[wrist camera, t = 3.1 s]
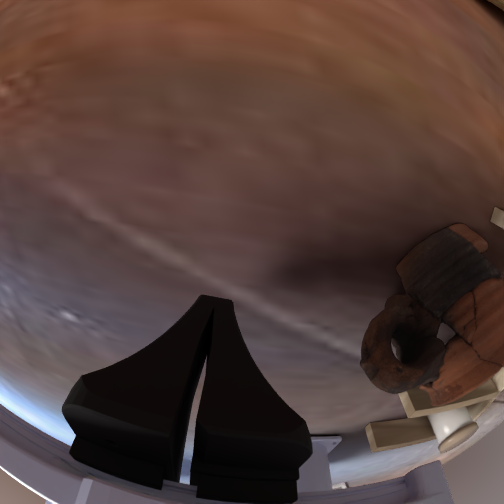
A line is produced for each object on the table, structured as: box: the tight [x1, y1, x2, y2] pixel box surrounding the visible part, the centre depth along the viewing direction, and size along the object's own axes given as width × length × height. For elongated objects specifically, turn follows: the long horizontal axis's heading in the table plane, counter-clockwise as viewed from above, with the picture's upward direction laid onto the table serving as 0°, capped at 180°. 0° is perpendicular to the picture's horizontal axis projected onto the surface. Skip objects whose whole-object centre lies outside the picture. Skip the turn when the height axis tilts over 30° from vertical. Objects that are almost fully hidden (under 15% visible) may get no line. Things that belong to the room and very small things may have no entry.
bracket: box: [365, 207, 504, 453], centre depth 15 cm, size 22×14×3 cm, turn 169°
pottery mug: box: [360, 223, 504, 406], centre depth 12 cm, size 12×10×8 cm
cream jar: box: [427, 406, 479, 453], centre depth 17 cm, size 4×4×6 cm
